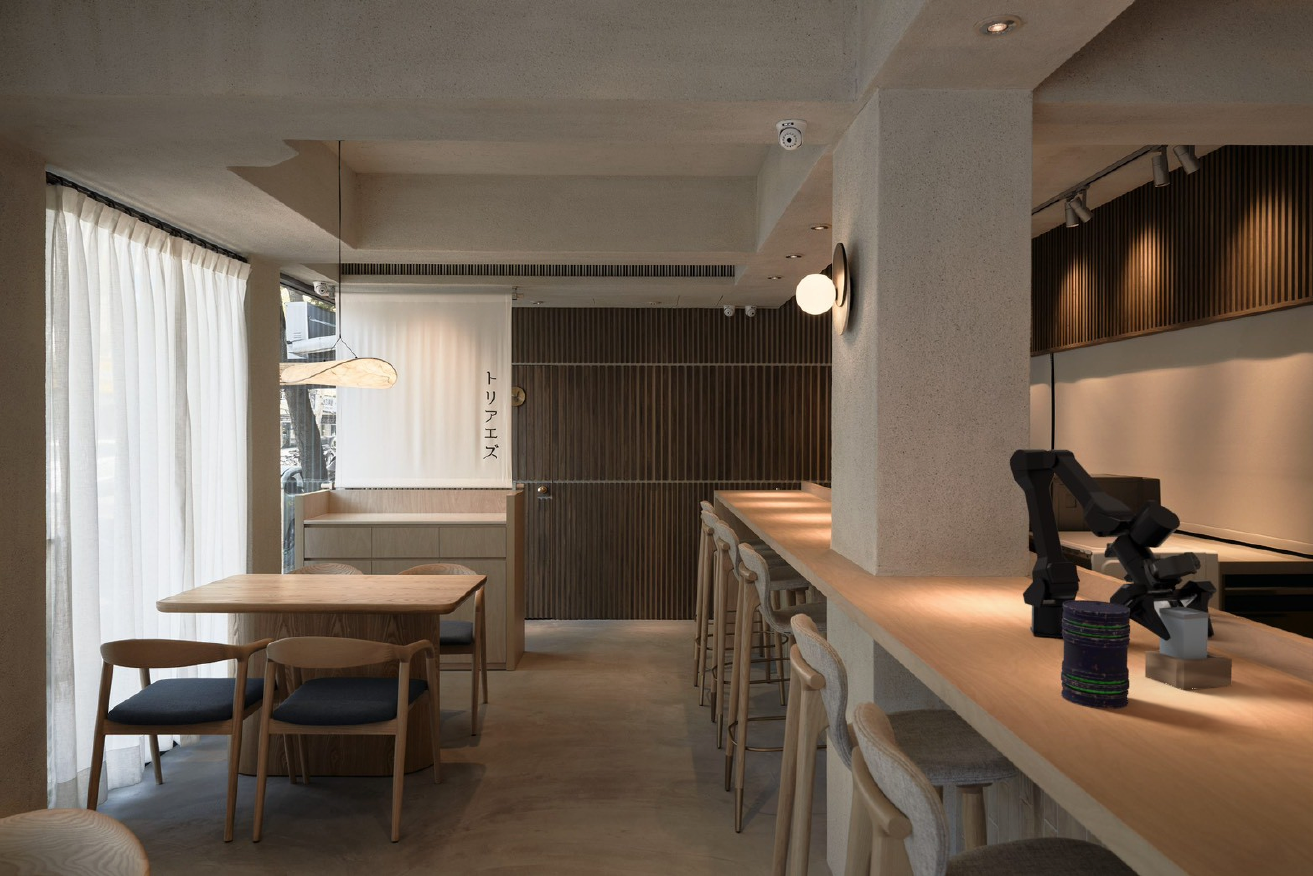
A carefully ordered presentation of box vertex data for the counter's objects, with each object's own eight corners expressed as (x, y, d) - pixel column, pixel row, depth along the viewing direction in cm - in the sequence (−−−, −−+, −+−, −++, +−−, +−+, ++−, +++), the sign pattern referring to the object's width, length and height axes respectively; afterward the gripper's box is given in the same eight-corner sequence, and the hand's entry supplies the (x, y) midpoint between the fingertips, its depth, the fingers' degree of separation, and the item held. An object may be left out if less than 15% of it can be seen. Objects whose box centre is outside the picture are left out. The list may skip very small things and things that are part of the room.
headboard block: (1145, 676, 154) (1145, 651, 154) (1191, 672, 157) (1191, 647, 157) (1183, 690, 147) (1184, 663, 147) (1231, 685, 149) (1231, 659, 149)
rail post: (1158, 676, 155) (1159, 608, 154) (1182, 674, 156) (1183, 606, 156) (1182, 685, 150) (1184, 614, 149) (1207, 683, 151) (1208, 613, 151)
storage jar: (1126, 713, 135) (1128, 615, 135) (1056, 702, 140) (1057, 608, 140) (1131, 696, 143) (1132, 604, 143) (1065, 686, 149) (1066, 597, 148)
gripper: (1123, 538, 154) (1174, 614, 143) (1208, 535, 159) (1264, 609, 148) (1088, 575, 161) (1135, 650, 151) (1171, 571, 166) (1222, 644, 156)
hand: (1190, 637), depth 151 cm, fingers open, 9 cm apart
